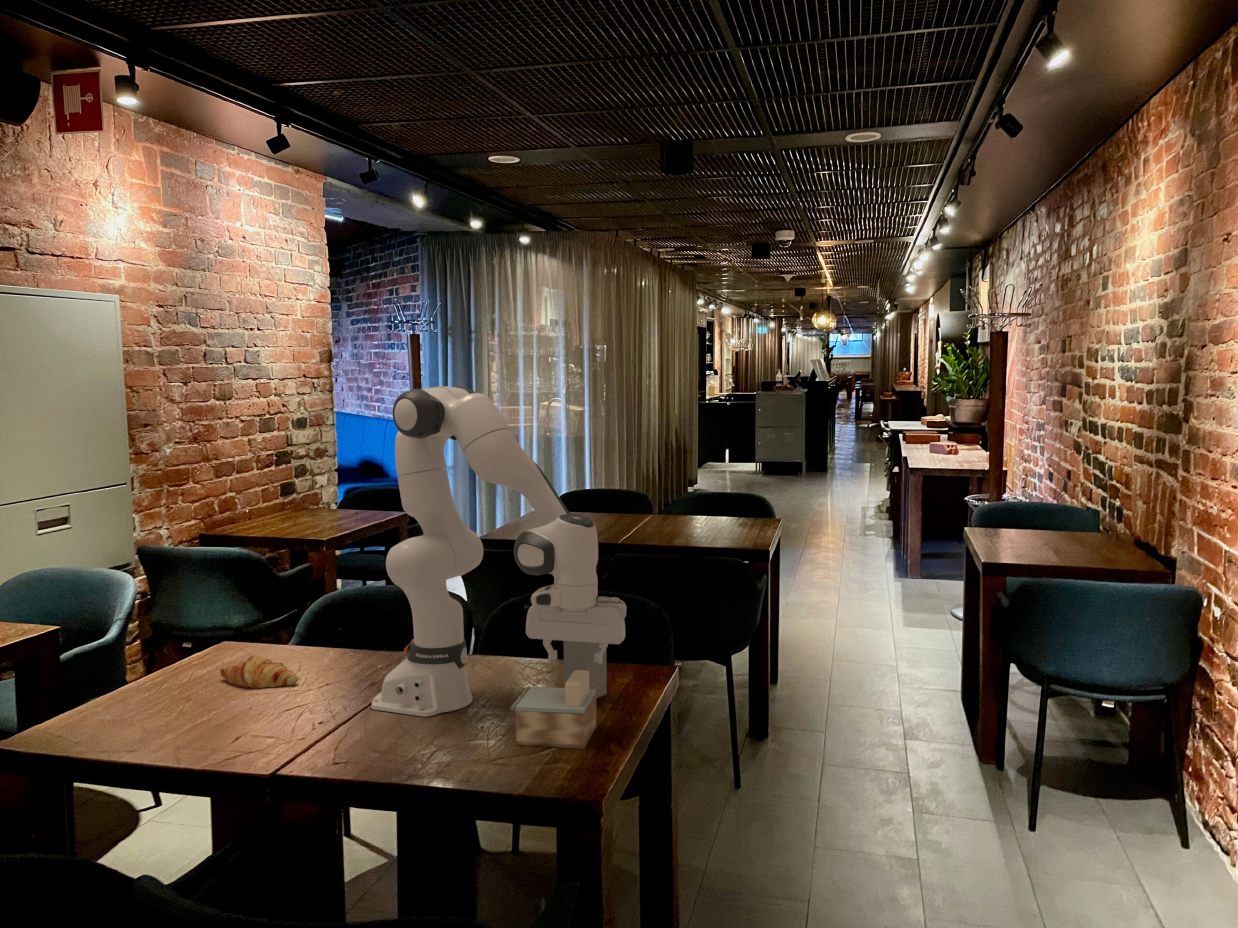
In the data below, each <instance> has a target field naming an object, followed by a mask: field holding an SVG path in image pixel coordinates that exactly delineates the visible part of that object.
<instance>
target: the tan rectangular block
mask: <svg viewBox="0 0 1238 928" xmlns="http://www.w3.org/2000/svg"><path fill="white" fill-rule="evenodd" d="M589 692H590V688H589V671H585V670H575V671H574V672H573V674H572V675H571V676H570V678H569V679H568V681H567V682H566V683H565V706H569V707H580V706H581V705H582V703H583V701H584V700H585V698H586V697H587V695H588V693H589Z"/></svg>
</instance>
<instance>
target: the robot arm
mask: <svg viewBox="0 0 1238 928" xmlns="http://www.w3.org/2000/svg"><path fill="white" fill-rule="evenodd" d="M392 407H393V408H392V420H393V423H394V425H395V428H396V429H397V433H396V434H395V442H394V455H395V456H394V457H395V470H396V476H397V482H398V488H399V493H400V499H401V506H402V507H401V508H403V511H404V513H406V514H407V515H408V516H410V517H413V518H414V519H415V520H416V522H418V525H419V526H420V528H421V530H422V533H423V534H421V535H418V536H413V537H410V538H406V539H405V540H402V541H401V542H398V543H397V544H395V545H394V546H392V547H391V548H390V549H389V551H388V552H387V555H386V558H385V569H386V572H387V576H388V577H389V578H390V580H391V581H392V583H393V584H394V585H396V586H397V587H399V588H400V589H401V590H402V591H403V593H404V594H405V595H406V597H407V599H408V602H409V605H410V608H411V615H412V626H413V639H411V641H410V643H408V644H407V645H406V647H405V648H404V649H403V650H404V651H403V654H406V658H405V659H404V660H403V661H401V662H400V663H399V664H398V665H397V666H395V667H394V668H393V669H392V670H391V671H389V672H388V673H387V674H386V675H385V677H384V679H383V682H382V685H381V686H382V687H381V692H379V693H378V694H377V695H376V696H375V697H374V698H373V699H372V701H371V709H372V710H374V711H375V710H376V711H383V712H389V713H390V712H391V713H397V714H404V715H410V716H418V717H426V718H427V717H431V716H435V715H439V714H441V713H447V712H453V711H457V710H460V709H463V708H465V707H466V706H468V705H470V704H471V703H472V702H473V700H474V697H473V694H472V692H471V689H470V683H469V680H468V675H467V668H466V665H467V660H468V659H467V656H468V654H467V652H468V651H467V643H466V638H465V637H464V635H465V634H464V633H465V632H464V612H463V611H464V610H463V607H462V604H461V603H460V602H459V601H458V600H456V599H455V598H453V597H452V596H451V595H450V594H449V591H448V586H447V580H450V579H453V578H456V577H461V576H463V575H465V574H467V573H469V572H471V571H472V570H474V569H476V568H477V567H478V566H479V565H480V564H481V562H482V561H483V557H484V545H483V542H482V540H481V538H480V537H479V535H478V534H477V533H476V532H475V531H474V530H471V528H469V527H468V526H467V525H466V523H465V522H464V521H463V519H462V517H461V516H460V513H459V511H458V510H457V507H456V505H455V501H454V498H453V495H452V488H451V485H450V479H449V475H448V468H447V463H446V458H445V444H446V442H447V441H448V440H449V439H450V440H452V441H456V440H457V442H458V444H459V446H460V448H461V450H462V452H463V455H464V457H465V460H466V461H467V463H468V465H469V466H470V468H471V469H472V471H473V472H474V474H475V475H476V476H477V477H478V478H479V479H481V480H482V481H485V482H488V483H490V484H493V485H499V486H502V487H505V488H509V489H512V490H514V491H516V492H518V493H519V494H521V495H522V496H523V497H524V498H525V499H526V500H527V502H528V503H529V505H530V506H531V507H532V509H533V510H534V512H535V514H536V515H537V517H538V519H539V520H540V522H541V523H542V524H543V525H540V526H538V527H537V526H536V527H533V528H530V529H528V530H525V531H522V532H521V533H519V535H518V536H517V537H516V540H515V542H514V546H513V556H514V560H515V563H516V564H517V566H518V567H519V569H520V570H521V571H522V572H524V573H525V574H527V575H531V576H540V575H541V576H542V575H547V574H549V575H552V576H553V579H554V580H553V584H551V585H550V584H549V585H546V586H543V587H542V586H541V587H540V588H538V589H537V590H536V591H534V593H532V595H531V597H530V603H531V604H532V605H531V606H530V607H529V609H528V610H527V614H526V620H525V621H526V622H525V634H526V636H527V637H528V638H529V639H531V640H536V639H537V640H542V645H543V646H544V649H545V650H546V651H547V654H548V656H547V657H548V658H547V659H548V661H552V662H554V661H557V660H558V650H556V649H554V648H553V646H552V644H551V643H552V641H562V642H564V641H576V642H591V643H599V648H602V650H601V651H600V653H595V655H594V664H601V663H602V655H603V653H604V651H605V650H606V651H607V648H608V646H609V645H620V644H621V643H623V641H624V640H625V638H626V623H625V621H626V620H625V618H626V617H627V605H626V603H625V601H623V600H622V599H620V598H619V597H616V596H614V597H609V596H602V595H601V596H599V595H598V586H599V583H598V581H599V580H598V574H597V565H598V561H599V541H598V539H599V538H598V532H597V528H596V524H595V523H594V521H593V520H592V519H591V518H589V517H587V516H585V515H582V514H577V513H576V514H575V513H571V512H570V511H569V510H568V508H567V506H566V505H565V504H564V502H563V501H562V499H561V498H560V496H559V494H558V493H557V491H556V490H555V488H554V487H553V484H551V482H550V480H549V479H548V478H547V476H546V475H545V473H544V472H543V470H542V469H541V467H540V466H539V465H538V464H537V463H536V462H535V461H534V459H532V458H531V457H530V456H529V455H528V454H527V453H526V452H525V450H524V449H523V448H522V446H521V445H520V443H519V442H518V441H517V438H515V435H514V434H513V432H512V431H511V428H510V426H509V424H508V422H507V421H506V420H505V418H504V416H503V414H502V413H501V412H500V410H499V409H498V408H497V406H496V404H495V403H494V402H493V401H492V400H491V398H490V397H489V396H488V395H486V394H484V393H480V392H476V391H475V390H472V389H471V388H469V387H464V386H445V385H442V386H441V385H440V386H437V385H436V386H433V387H426V388H421V389H420V388H413V389H410V390H406V391H405V392H402V393H400V394H399V396H397V398H396V399H395V401H394V403H393V406H392Z"/></svg>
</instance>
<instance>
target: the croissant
mask: <svg viewBox="0 0 1238 928" xmlns="http://www.w3.org/2000/svg"><path fill="white" fill-rule="evenodd" d="M219 671H220V676H221V677H222V678H224V679H225V680H226V681H227V682H228V683H229V684H231V685H233V684H234V685H233V686H237V687H240V686H241V688H248V687H250V688H249V689H265V687H266V688H276V687H281V686H285V687H287V686H292V685H294V684H297V683H298V682H299V677H298V676H297V675H296V673H295V672H294V671H293V670H291V669H288V667H286V665H284V663H282V662H273V661H272V660H271V659H269V658H267V657H264V656H253V655H251V656H250V657H248V658H247V659H246V660H245V661H240V662H239V663H238V664H235V665H230V666H228V667H226V668H225V667H224V668H221V669H220V670H219Z"/></svg>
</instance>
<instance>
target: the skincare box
mask: <svg viewBox="0 0 1238 928" xmlns="http://www.w3.org/2000/svg"><path fill="white" fill-rule="evenodd" d="M601 650H602V648H599V643H591V642H576V641H563V688H565V683H566V682H567V681H568V679H569V678H570V676H571V675H572V674H573V672H574V671H575V670H585V671H589V688H590V689H596V699H598V698H601V697H603V696H606V695H607V693H608V692H607V691H608V690H607V687H608V686H607V685H608V684H607V683H608V680H607V678H608V677H607V675H608V673H607V665H608V664H607V649H606V650H605V651H604V653H603V655H602V663H601V664H594V655H595V653H600V651H601Z"/></svg>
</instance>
